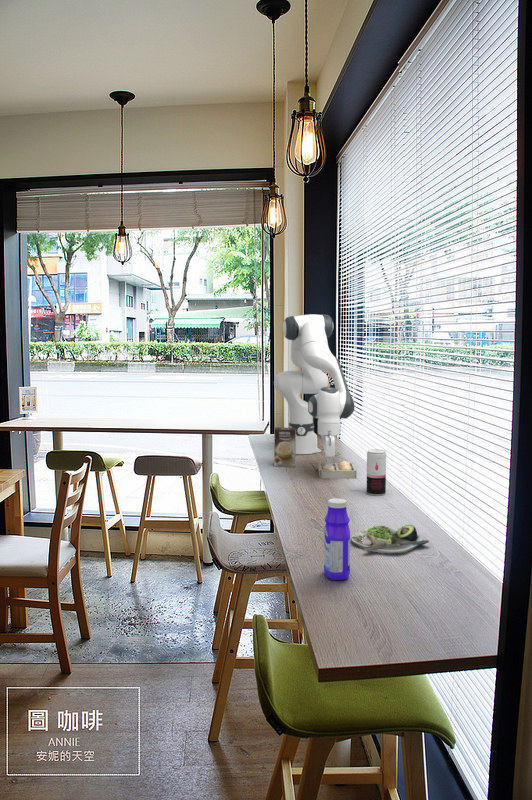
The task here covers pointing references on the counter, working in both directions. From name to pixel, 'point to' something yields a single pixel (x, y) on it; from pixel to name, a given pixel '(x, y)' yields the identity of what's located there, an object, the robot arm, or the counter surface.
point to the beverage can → (376, 472)
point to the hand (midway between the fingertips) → (328, 464)
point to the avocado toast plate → (389, 539)
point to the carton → (337, 472)
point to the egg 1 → (328, 468)
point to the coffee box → (285, 447)
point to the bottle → (337, 541)
